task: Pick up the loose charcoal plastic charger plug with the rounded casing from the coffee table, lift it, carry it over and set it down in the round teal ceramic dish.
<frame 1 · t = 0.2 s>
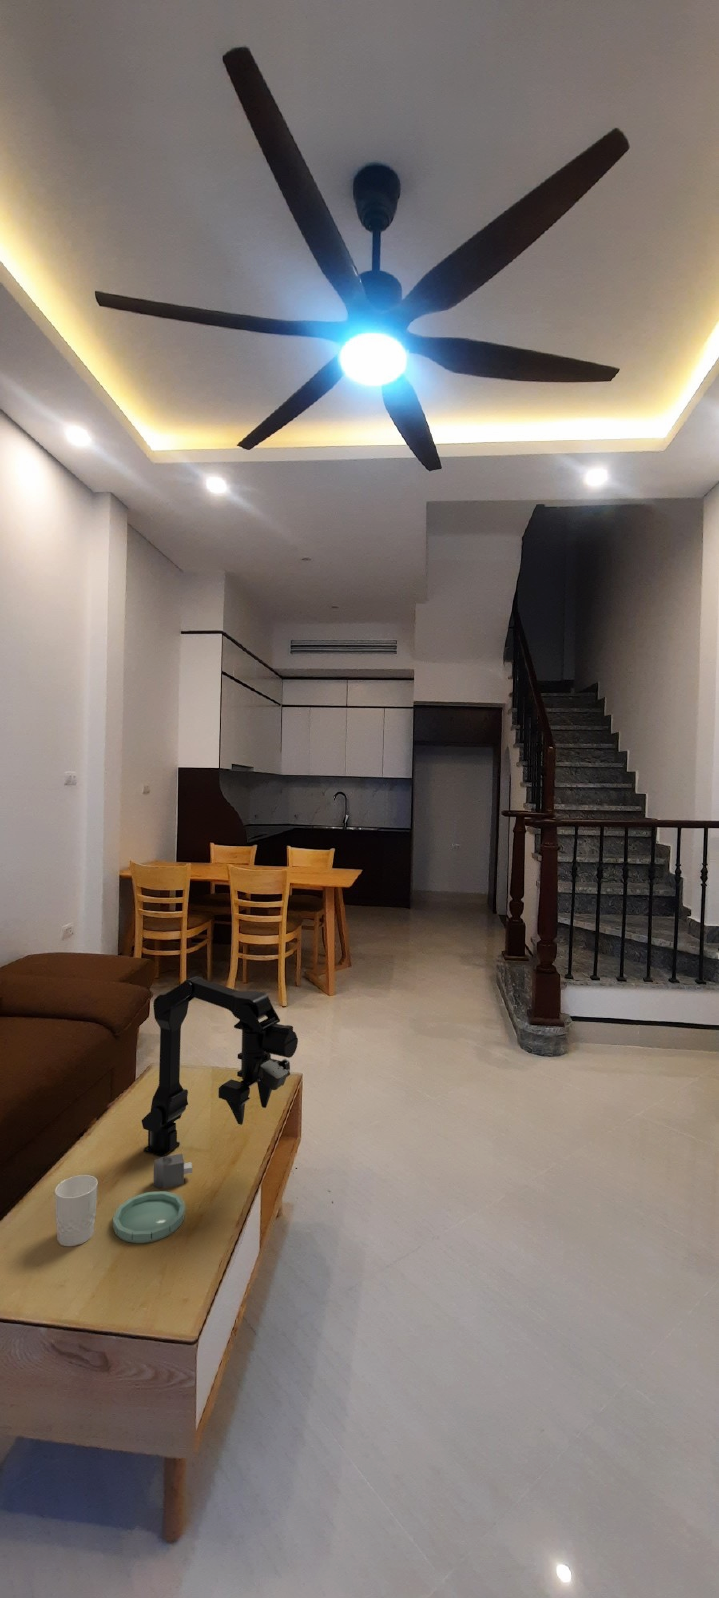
hand: (252, 1115, 152), 14 cm above the table, fingers open, 9 cm apart
dish: (149, 1220, 136), on the table
white cup: (75, 1236, 131), on the table
plug: (172, 1181, 150), on the table
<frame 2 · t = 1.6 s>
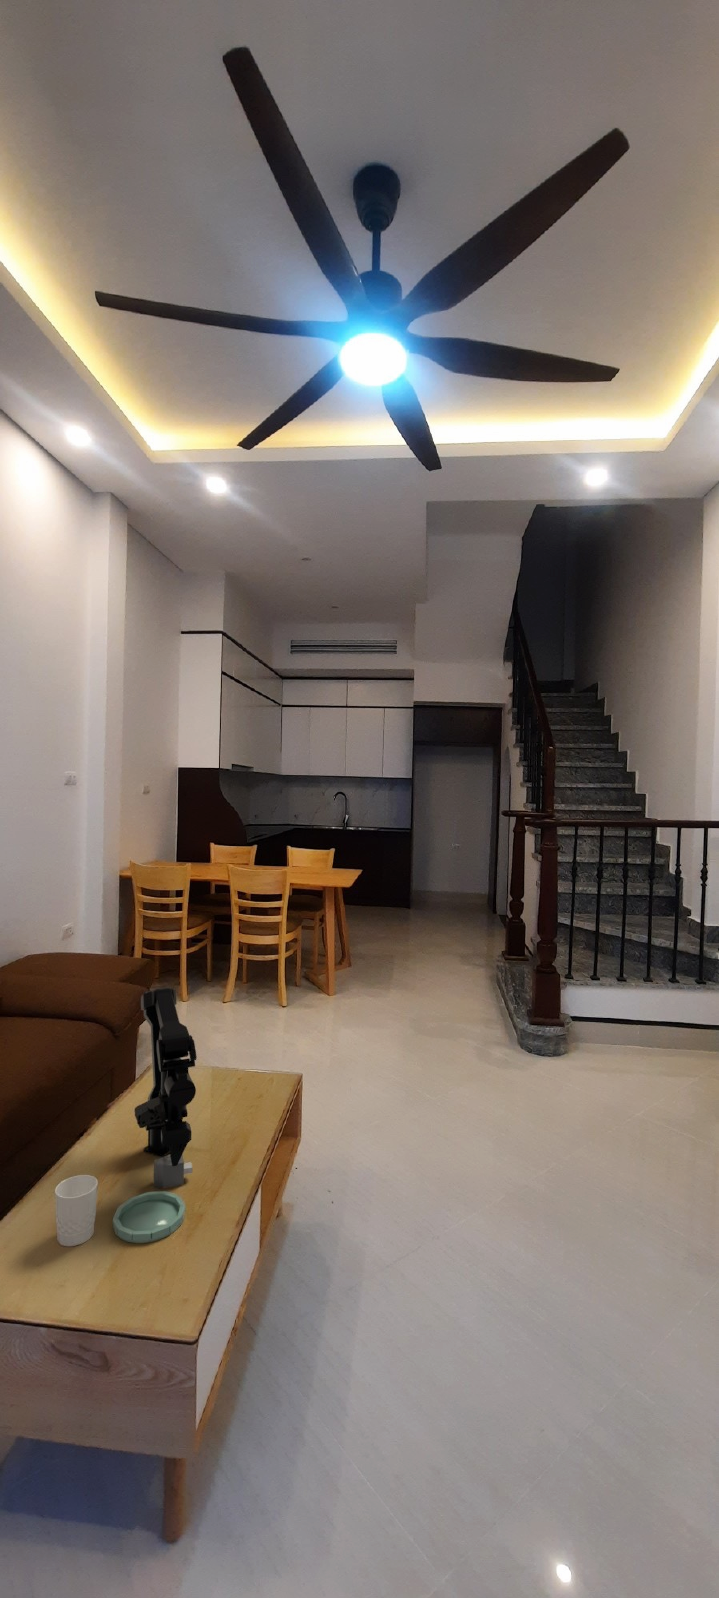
hand: (172, 1155, 150), 6 cm above the table, fingers open, 9 cm apart
nothing on the table moved.
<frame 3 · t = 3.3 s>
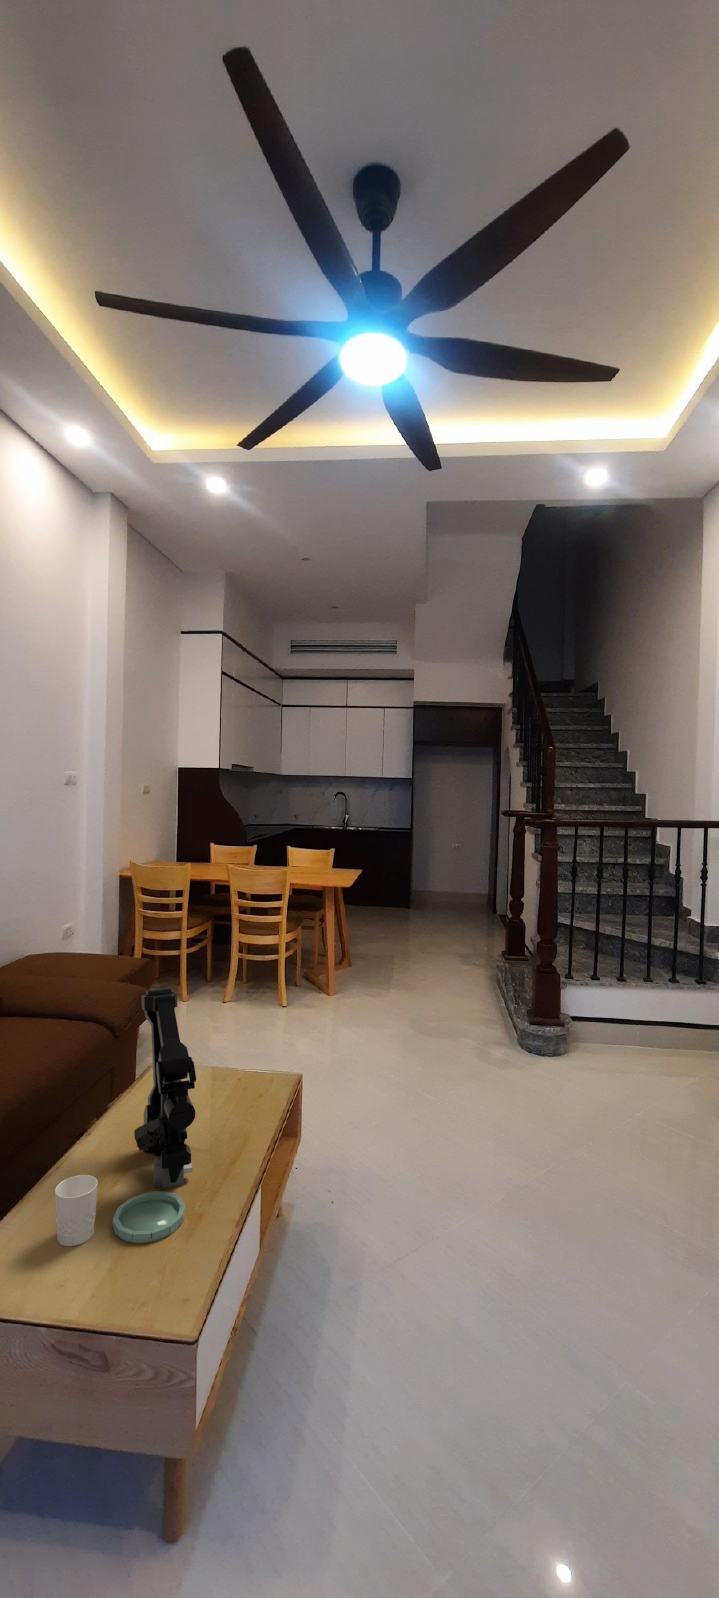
hand: (172, 1177, 150), 1 cm above the table, fingers closed on plug, 4 cm apart
plug: (172, 1181, 150), on the table, touching gripper
everything else where it was.
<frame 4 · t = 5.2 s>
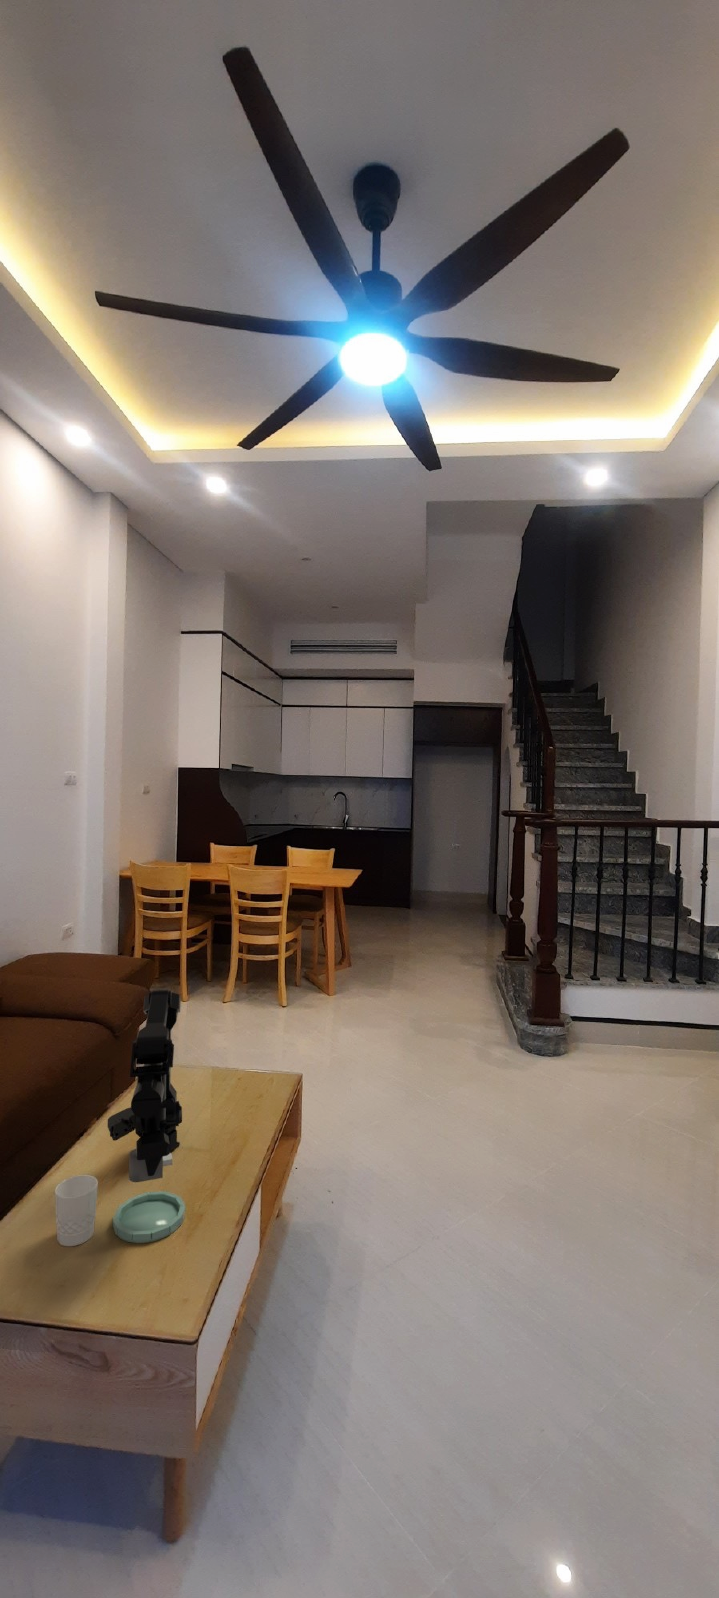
hand: (150, 1170, 136), 11 cm above the table, fingers closed on plug, 4 cm apart
plug: (150, 1174, 136), point 10 cm above the table, touching gripper
everything else where it was.
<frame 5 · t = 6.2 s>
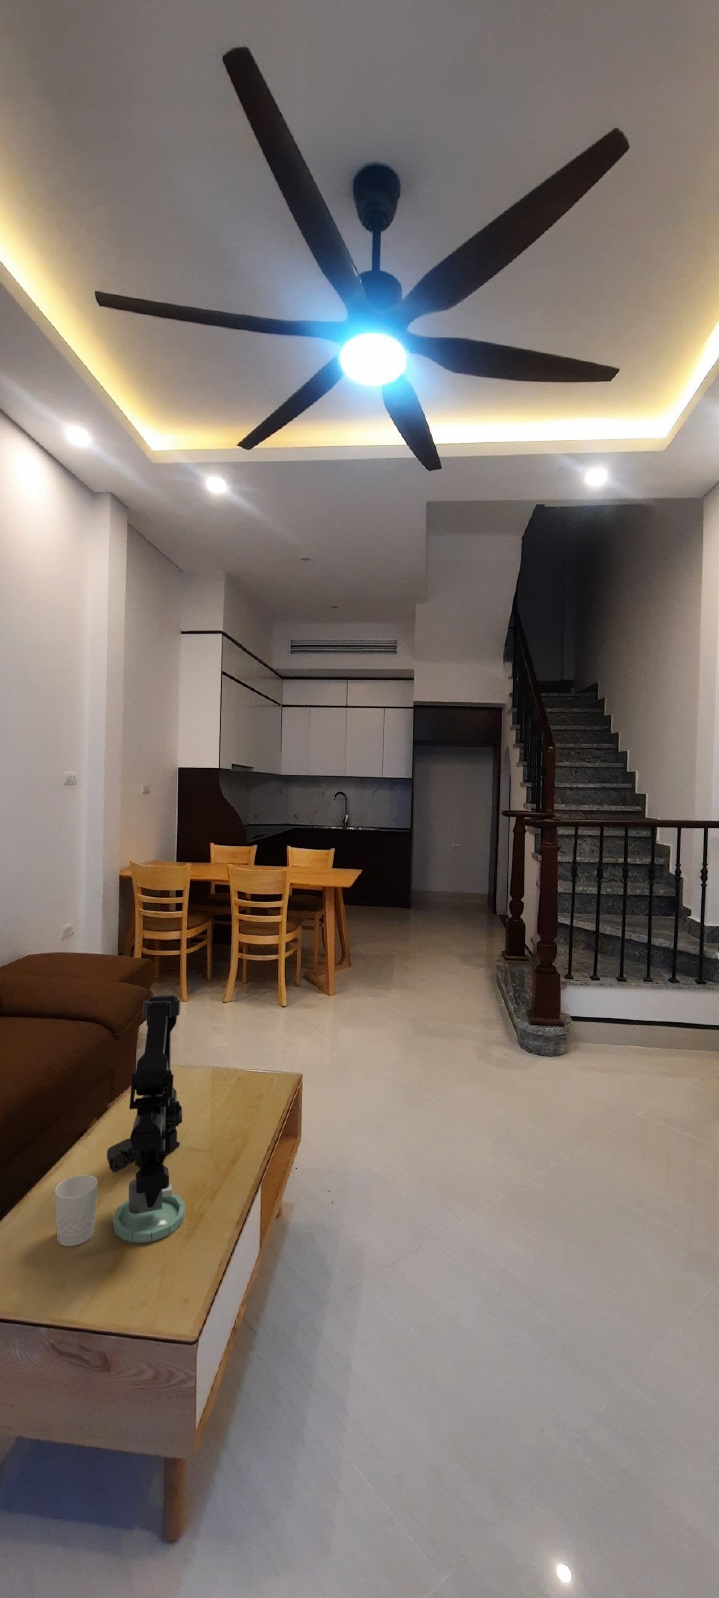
hand: (150, 1200, 136), 4 cm above the table, fingers closed on plug, 4 cm apart
plug: (150, 1205, 136), point 3 cm above the table, touching gripper
everything else where it was.
when the fingers open (3 cm above the table, at t = 7.2 s): plug drops 1 cm, resting on dish.
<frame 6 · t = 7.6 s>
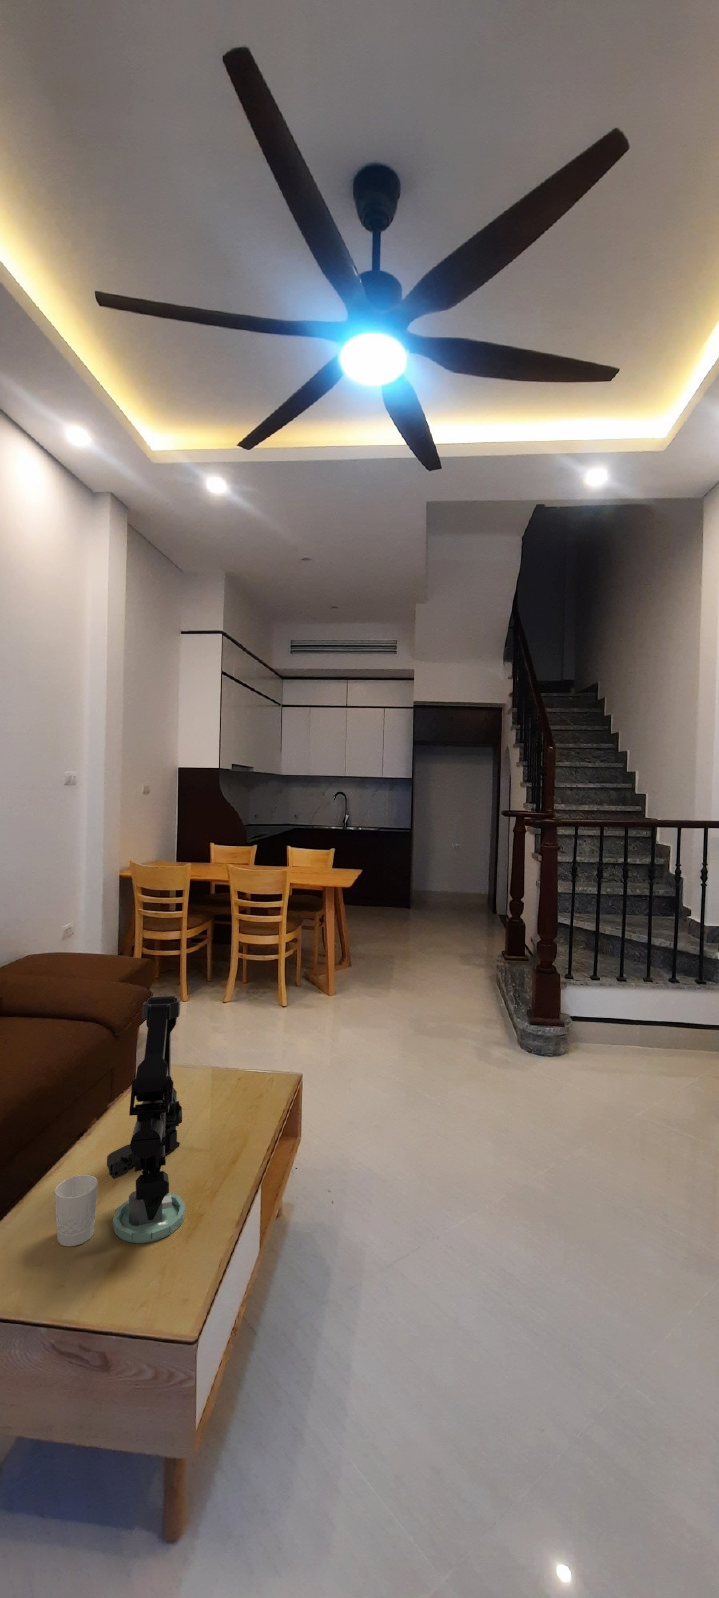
hand: (149, 1207, 136), 3 cm above the table, fingers open, 8 cm apart
plug: (150, 1217, 136), point 1 cm above the table, touching dish
everything else where it was.
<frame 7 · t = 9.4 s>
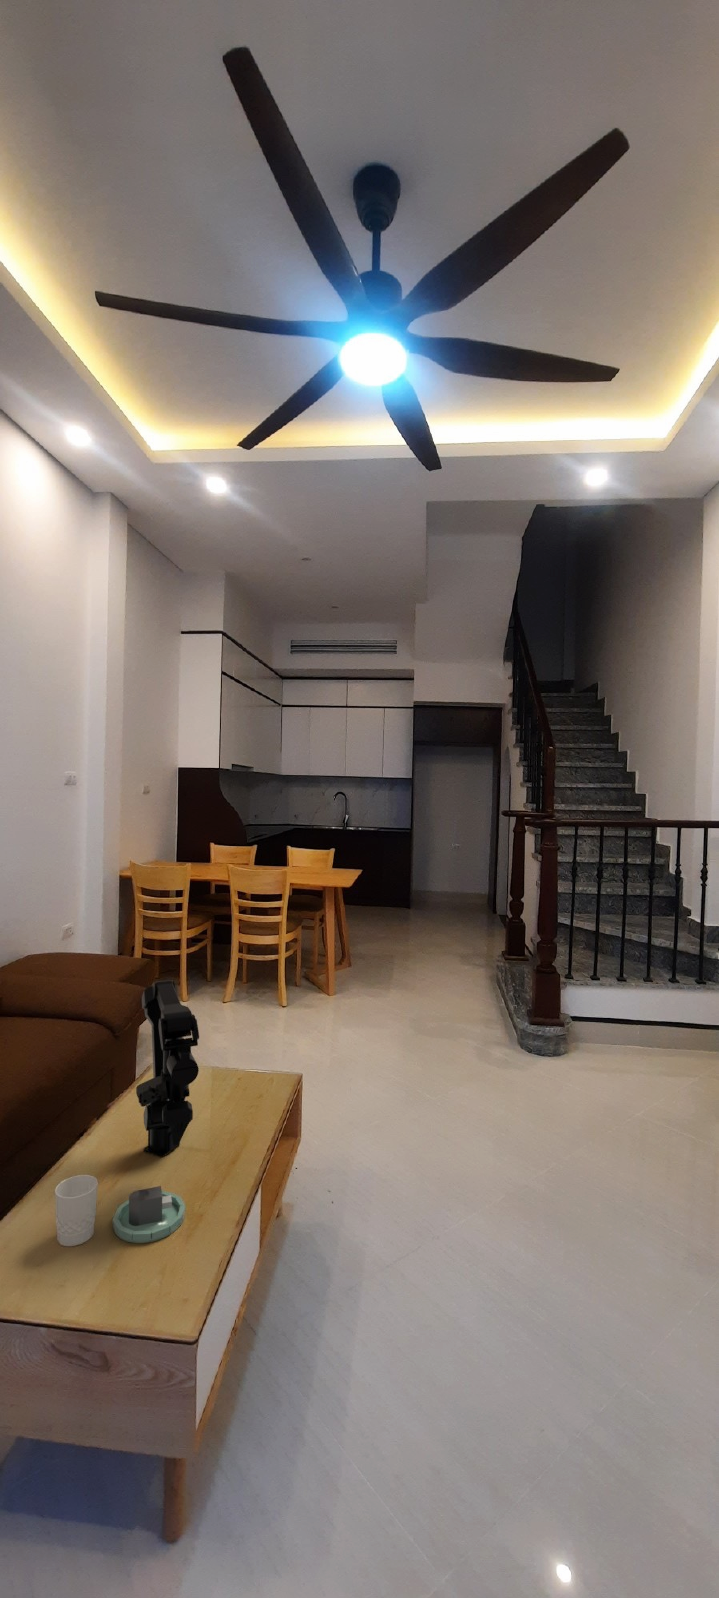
hand: (174, 1134, 148), 12 cm above the table, fingers open, 9 cm apart
nothing on the table moved.
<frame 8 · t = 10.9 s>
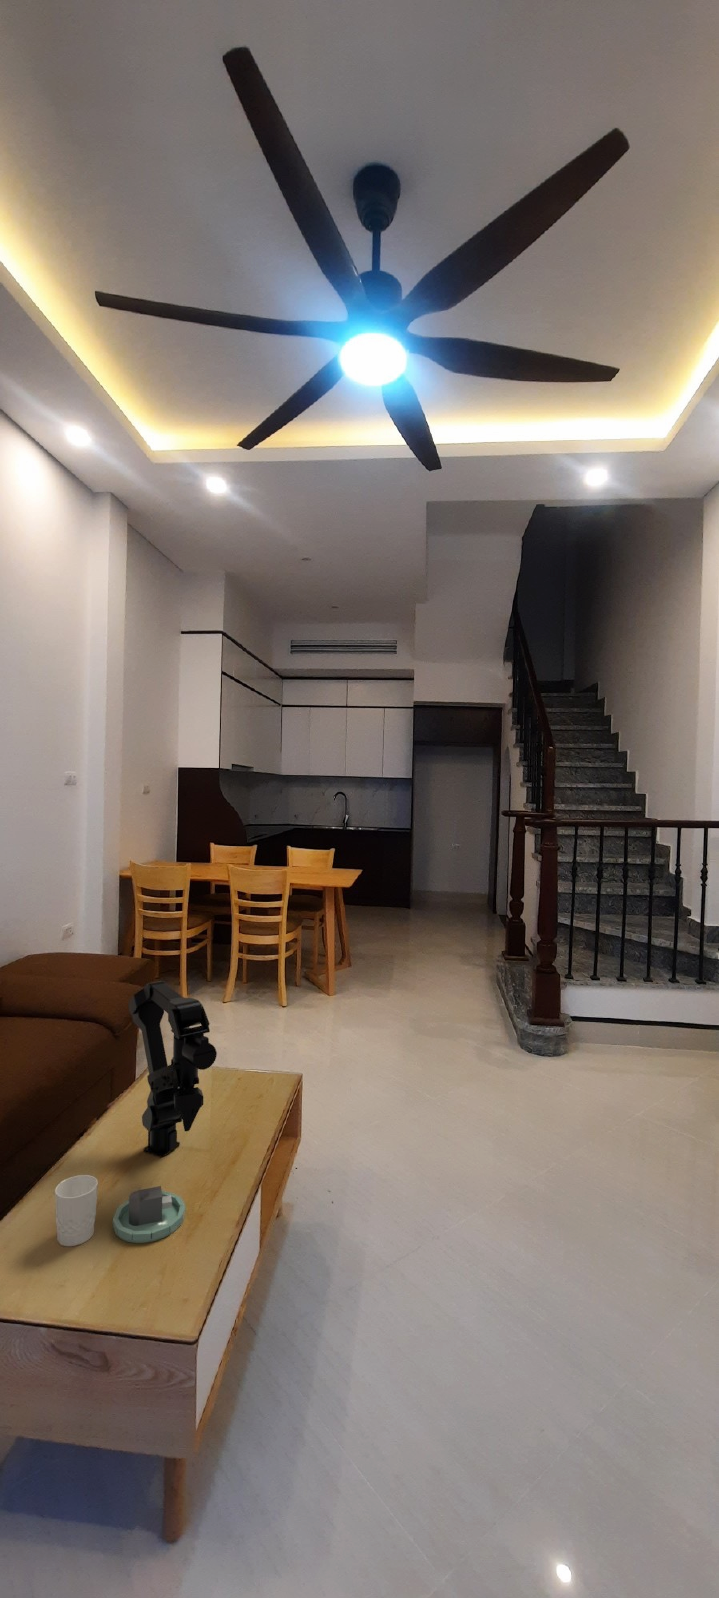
hand: (184, 1121, 153), 12 cm above the table, fingers open, 9 cm apart
nothing on the table moved.
at the end: plug inside the target area on the dish (0.1 cm from its centre), point 0.6 cm above the dish's base; plug tilted 0°; the gripper is holding nothing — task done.
